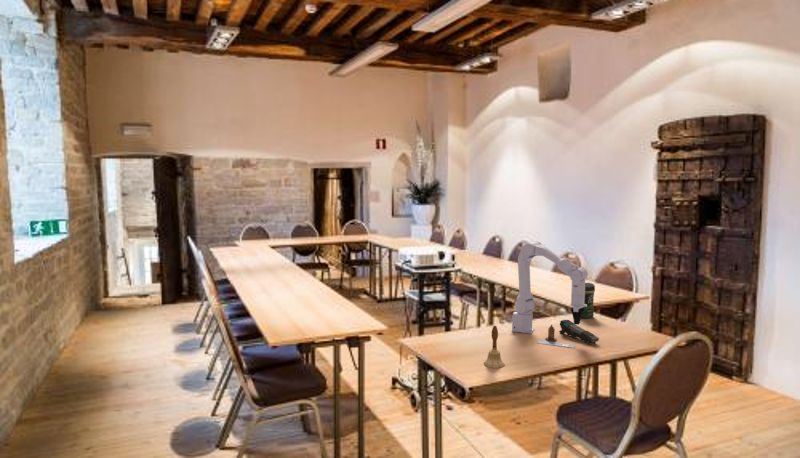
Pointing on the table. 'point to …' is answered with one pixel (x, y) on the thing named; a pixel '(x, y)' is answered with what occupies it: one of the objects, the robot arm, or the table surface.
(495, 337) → the hand bell
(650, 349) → the table surface
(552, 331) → the awl
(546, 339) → the coaster
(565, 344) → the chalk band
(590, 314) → the coffee jar
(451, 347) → the table surface
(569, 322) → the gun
